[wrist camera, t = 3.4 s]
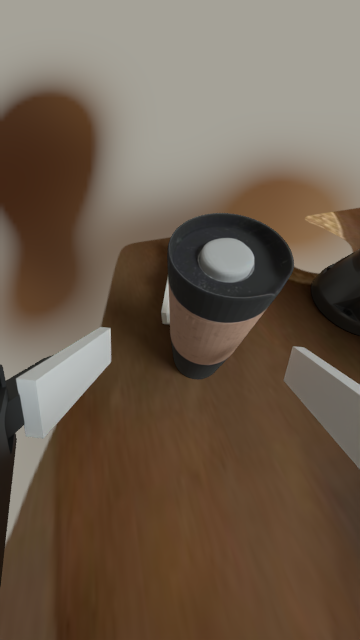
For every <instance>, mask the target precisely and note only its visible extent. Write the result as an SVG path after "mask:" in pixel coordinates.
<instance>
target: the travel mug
mask: <svg viewBox="0 0 360 640" xmlns="http://www.w3.org/2000/svg"><path fill="white" fill-rule="evenodd" d="M167 259H168V285H169V311H170V335H171V343H172V350H173V357H174V362H175V365H176V367H177V368H178V370H179V371H180V372H181V373H182V374H183V375H185V376H187V377H189V378H192V379H204V378H206V377H209V376H210V375H212V374H213V373H214V372H215V371H216V370H217V369H218V368H219V367H220V366H221V365H222V364H223V363H224V362H225V361H226V360H227V358H228V357H229V356H230V355H231V354H232V353H233V352H234V350H235V349H236V348H237V347H238V345H239V344H240V343H241V341H242V340H243V339H244V338H245V336H246V335H247V334H248V332H249V331H250V330H251V328H252V327H253V326H254V325H255V323H256V322H257V321H258V319H259V318H260V317H261V316H262V314H263V313H264V312H265V310H266V309H267V308H268V306H269V305H270V304H271V303H272V301H273V300H274V299H275V298H276V296H277V295H278V294H279V292H280V291H281V290H282V288H283V287H284V285H285V283H286V282H287V280H288V279H289V277H290V275H291V274H292V272H293V268H294V260H293V256H292V253H291V250H290V248H289V246H288V244H287V243H286V242H285V240H284V239H283V238H282V237H281V236H280V235H279V234H278V233H277V232H276V231H274V230H273V229H272V228H270V227H268V226H267V225H265V224H263V223H261V222H259V221H257V220H255V219H251V218H249V217H245V216H241V215H235V214H228V213H215V214H207V215H202V216H198V217H195V218H193V219H190V220H188V221H186V222H185V223H183V224H182V225H181V226H179V227H178V228H177V229H176V230H175V232H174V233H173V234H172V236H171V239H170V241H169V245H168V254H167Z"/></svg>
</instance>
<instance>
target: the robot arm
mask: <svg viewBox="0 0 360 640" xmlns="http://www.w3.org/2000/svg"><path fill="white" fill-rule="evenodd" d="M311 293H312V297H313V300H314V302H315V304H316V305H317V307H318V308H319V310H320V311H321V312H322V313H323V314H324V315H325V316H326V317H327V318H328V319H329V320H330V321H332V322H333V323H334V324H336V325H337V326H339V327H341V328H342V329H344V330H346V331H348V332H351V333H353V334H356V335H359V336H360V249H359V250H357V251H356V252H354V253H352V254H350V255H348V256H347V257H345V258H343V259H341V260H340V261H338V262H336V263H335V264H332V265H330V266H328V267H327V268H325V269H324V270H323V271H322V272H321V273H320V274H319V275H318V276H317V277H316V278H315V279H314V281H313V283H312V286H311ZM110 363H111V328H106V327H99V328H98V329H96V330H94V331H93V332H91V333H90V334H88V335H86V336H85V337H83V338H81V339H80V340H78V341H76V342H75V343H73V344H72V345H70V346H68V347H67V348H65V349H63V350H62V351H60V352H58V353H57V354H55V355H52V356H50V357H47V358H44V359H42V360H40V361H39V362H37V363H35V365H32V366H30V367H29V368H28V369H25V370H24V371H22V372H20V373H19V374H17V375H15V376H13V377H12V378H10V379H8V380H6V381H5V377H4V371H3V367H2V365H0V585H1V576H2V567H3V558H4V549H5V540H6V531H7V522H8V513H9V503H10V494H11V484H12V476H13V466H14V457H15V449H16V440H17V439H16V434H15V433H16V432H17V431H18V430H19V429H20V428H21V427H22V426H23V425H24V428H25V434H26V436H28V437H36V438H45V436H46V435H47V434H48V433H49V432H50V431H51V430H52V428H53V427H54V426H55V425H56V424H57V423H58V422H59V421H60V419H61V418H62V417H63V416H64V415H65V414H66V413H67V411H68V410H69V409H70V408H71V407H72V406H73V405H74V404H75V402H76V401H77V400H78V399H79V398H80V397H81V396H82V394H83V393H84V392H85V391H86V390H87V389H88V388H89V386H90V385H91V384H92V383H93V382H94V381H95V380H96V379H97V377H98V376H99V375H100V374H101V373H102V372H103V371H104V369H105V368H106V367H107V366H108V365H109V364H110ZM284 381H285V382H286V384H287V385H288V386H289V387H290V388H291V389H292V391H293V392H294V393H295V394H296V395H297V397H298V398H299V399H300V400H301V401H302V402H303V404H304V405H305V406H306V407H307V408H308V409H309V411H310V412H311V413H312V414H313V415H314V416H315V418H316V419H317V420H318V421H319V422H320V423H321V425H322V426H323V427H324V428H325V429H326V430H327V432H328V433H329V434H330V435H331V436H332V437H333V439H334V440H335V441H336V442H337V443H338V444H339V446H340V447H341V448H342V449H343V450H344V451H345V453H346V454H347V455H348V456H349V457H350V458H351V460H352V461H353V462H354V463H355V464H356V465H357V467H358V468H359V469H360V385H359V384H358V383H356V382H355V381H353V380H352V379H350V378H349V377H347V376H346V375H344V374H343V373H341V372H340V371H338V370H337V369H335V368H334V367H332V366H331V365H329V364H328V363H326V362H325V361H323V360H322V359H320V358H319V357H317V356H316V355H314V354H313V353H311V352H310V351H308V350H307V349H305V348H304V347H294V346H293V348H292V352H291V355H290V359H289V363H288V366H287V370H286V374H285V378H284Z"/></svg>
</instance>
